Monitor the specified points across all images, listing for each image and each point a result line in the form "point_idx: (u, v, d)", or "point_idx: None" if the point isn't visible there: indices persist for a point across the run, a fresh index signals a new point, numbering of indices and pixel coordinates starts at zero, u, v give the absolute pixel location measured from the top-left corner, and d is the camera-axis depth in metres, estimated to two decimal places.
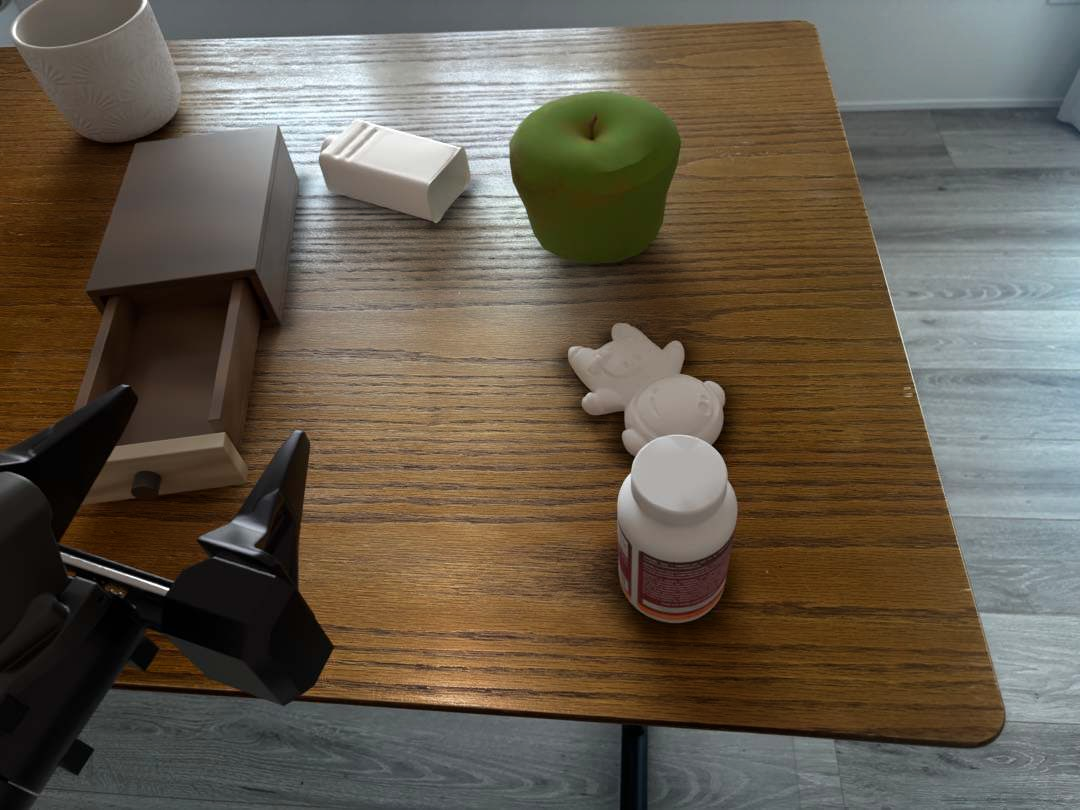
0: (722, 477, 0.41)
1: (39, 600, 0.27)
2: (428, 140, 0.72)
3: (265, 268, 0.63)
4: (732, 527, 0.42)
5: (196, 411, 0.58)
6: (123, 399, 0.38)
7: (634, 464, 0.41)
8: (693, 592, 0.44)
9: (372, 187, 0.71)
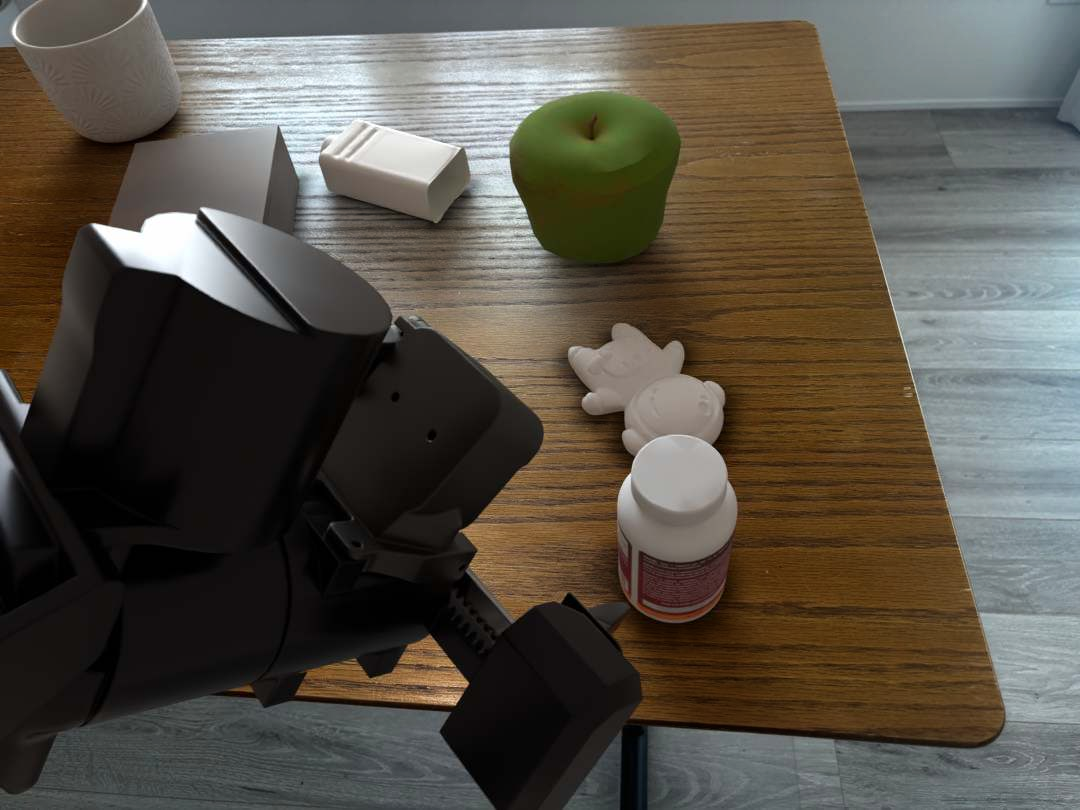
0: (723, 477, 0.41)
1: (457, 514, 0.26)
2: (428, 140, 0.72)
3: None
4: (732, 527, 0.42)
5: None
6: None
7: (634, 464, 0.41)
8: (693, 592, 0.44)
9: (372, 187, 0.71)
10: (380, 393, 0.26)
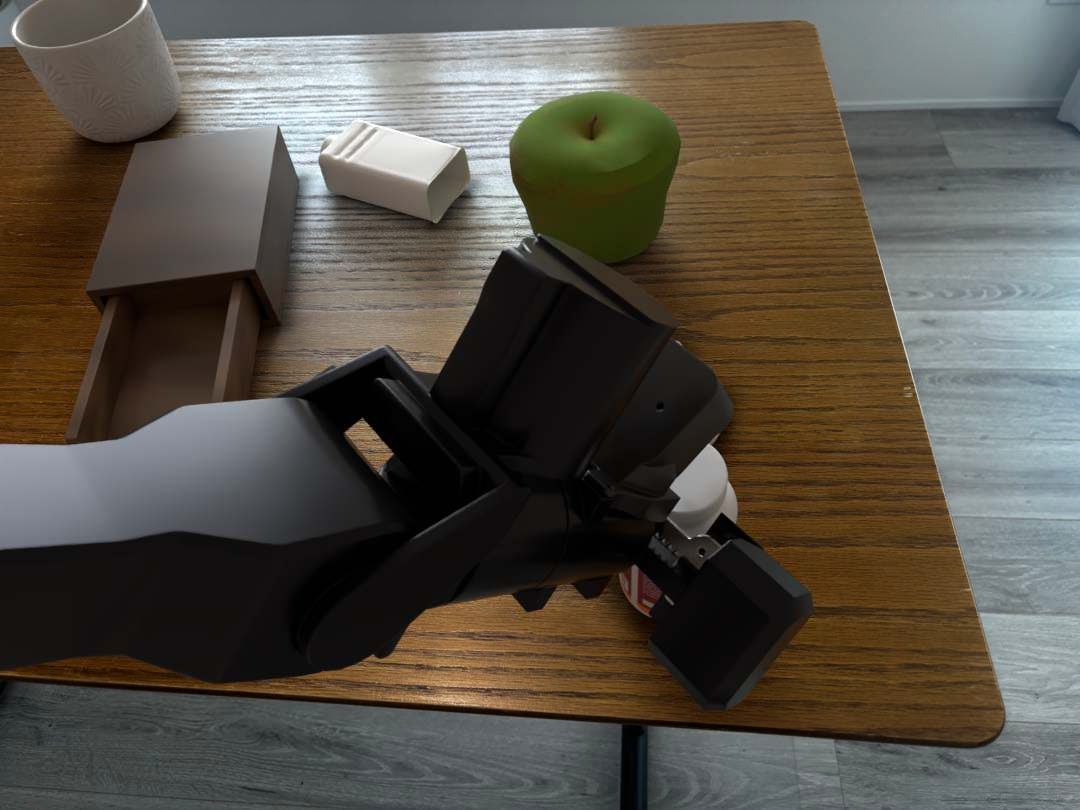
0: (723, 477, 0.41)
1: (674, 467, 0.33)
2: (428, 140, 0.72)
3: (265, 268, 0.63)
4: None
5: None
6: None
7: None
8: None
9: (372, 188, 0.71)
10: None
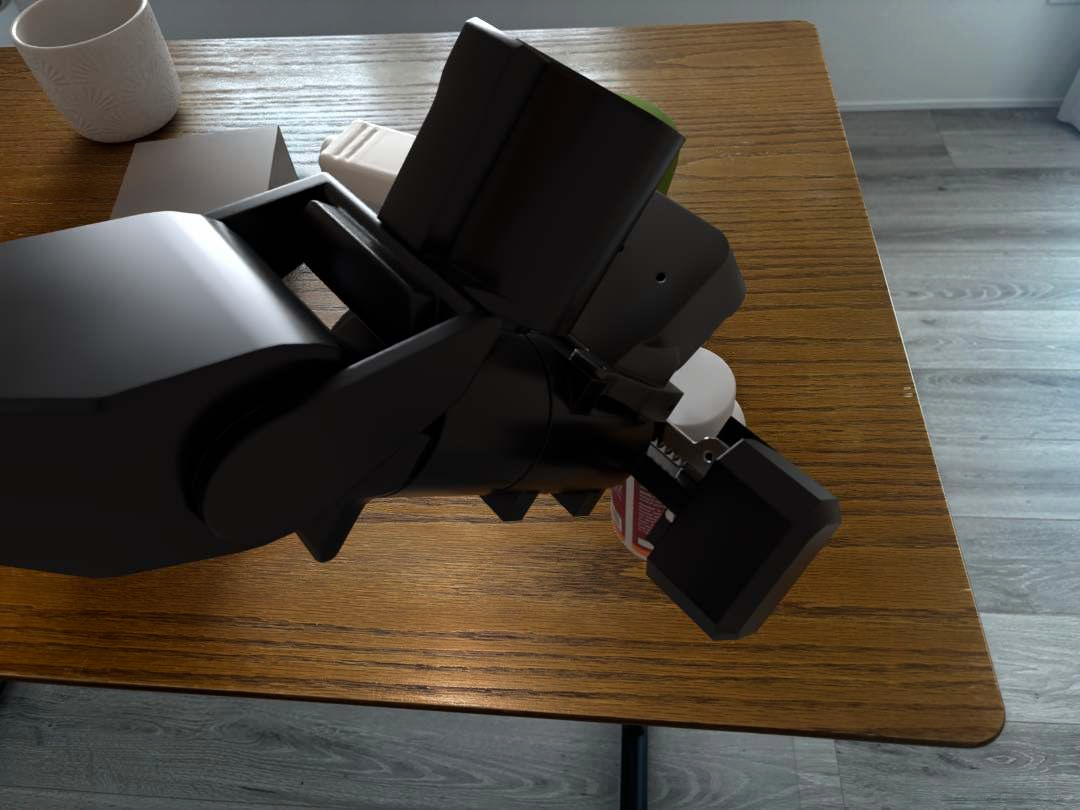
0: (730, 388, 0.35)
1: (676, 352, 0.28)
2: None
3: None
4: None
5: None
6: None
7: None
8: None
9: (372, 188, 0.71)
10: None
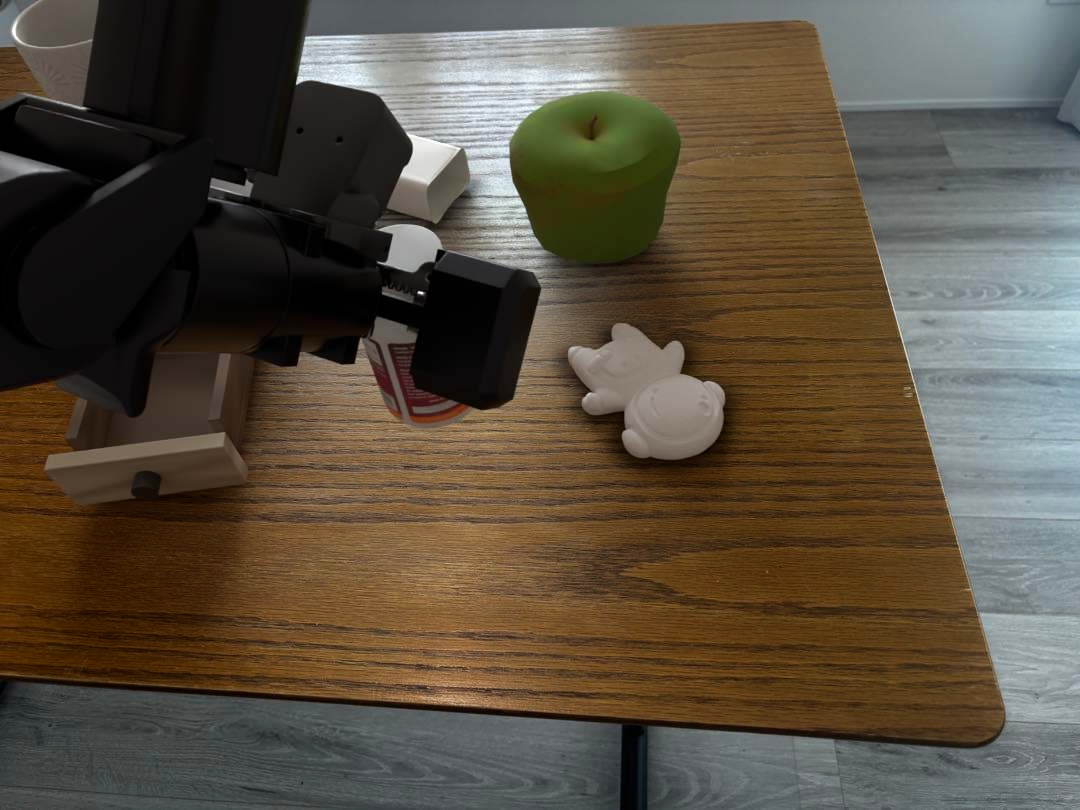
0: (436, 244, 0.43)
1: (373, 197, 0.35)
2: (428, 140, 0.72)
3: None
4: None
5: (196, 411, 0.58)
6: None
7: None
8: None
9: None
10: (286, 133, 0.35)
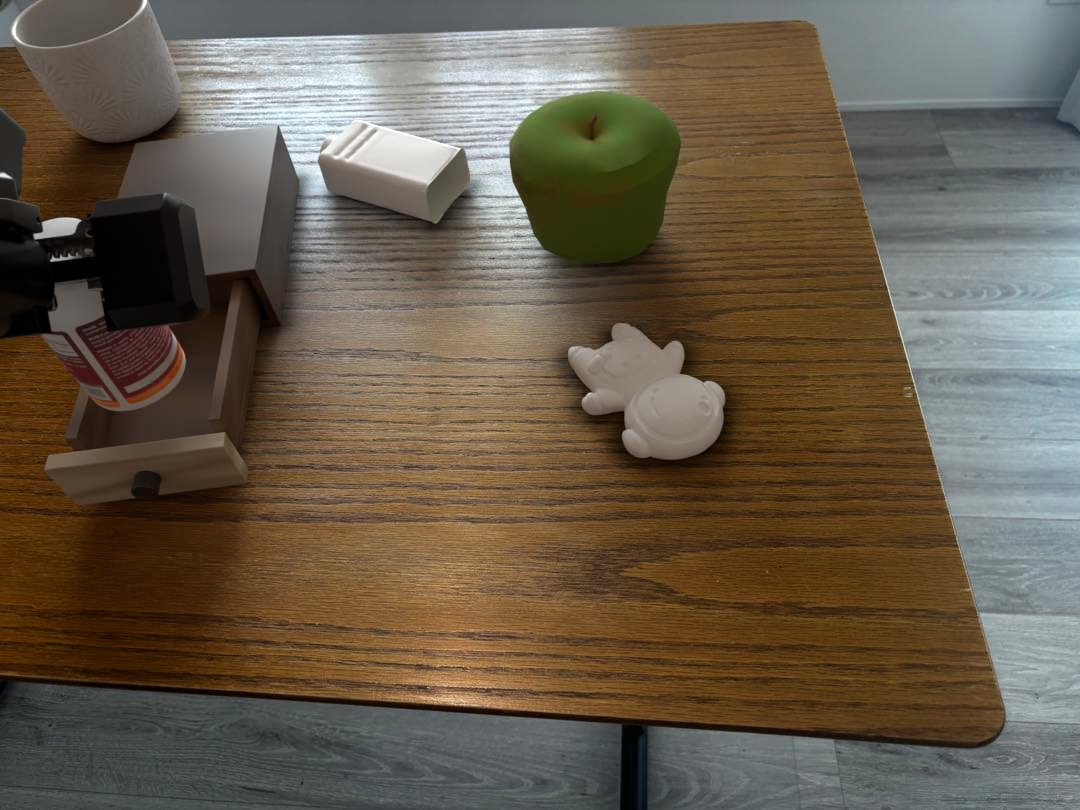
0: None
1: (6, 174, 0.38)
2: (428, 141, 0.72)
3: (265, 268, 0.63)
4: None
5: (196, 411, 0.58)
6: None
7: None
8: (151, 343, 0.50)
9: (371, 188, 0.71)
10: None
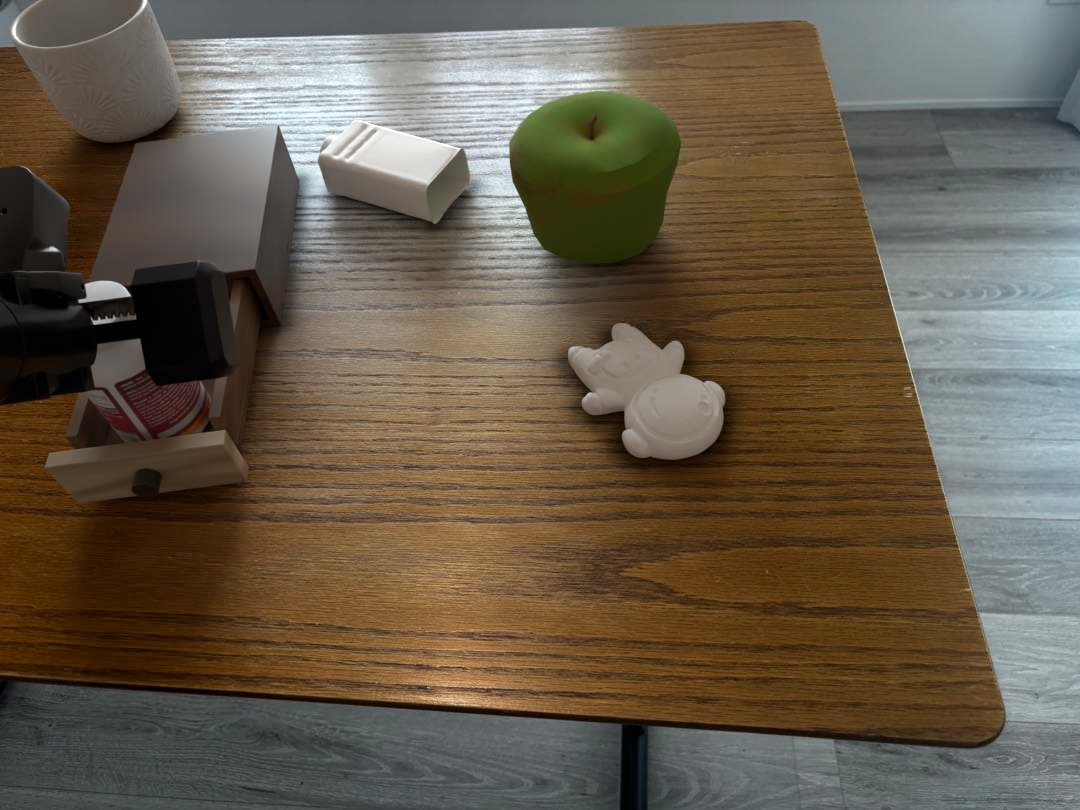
0: (120, 288, 0.50)
1: (54, 247, 0.42)
2: (427, 141, 0.72)
3: (265, 268, 0.63)
4: None
5: None
6: None
7: None
8: (182, 393, 0.54)
9: (371, 188, 0.71)
10: None
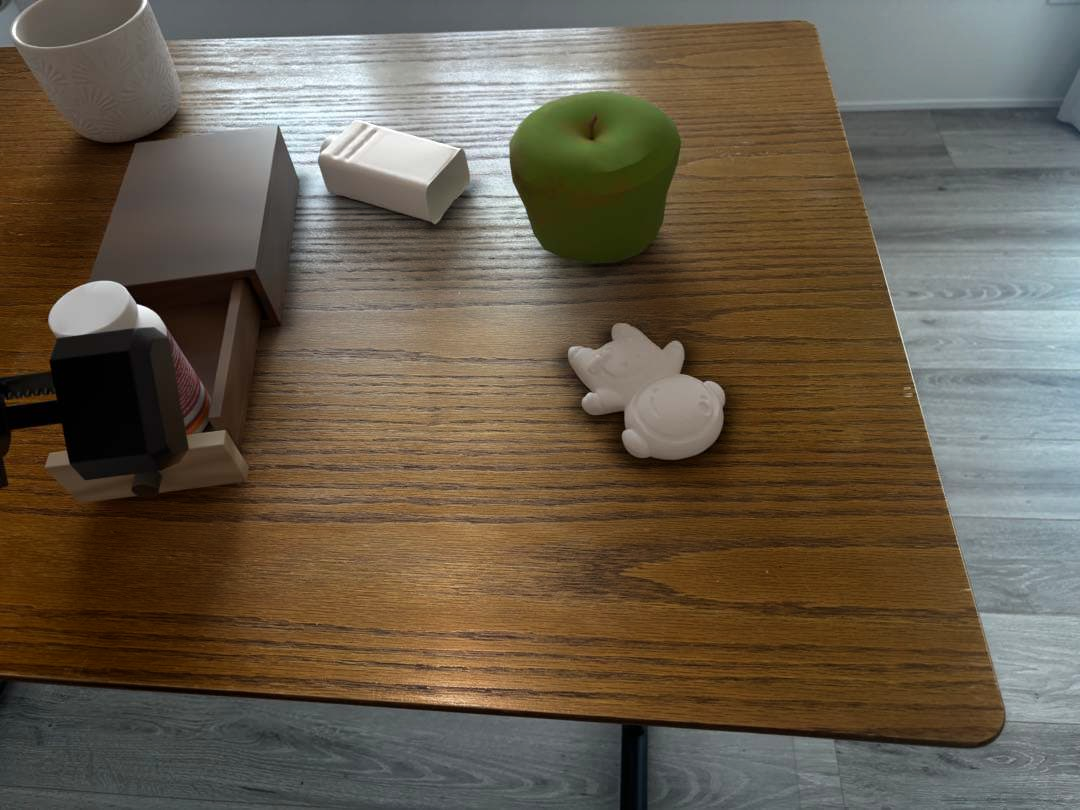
0: (120, 288, 0.50)
1: None
2: (427, 141, 0.72)
3: (265, 268, 0.63)
4: (161, 322, 0.52)
5: None
6: None
7: (52, 327, 0.48)
8: (182, 393, 0.54)
9: (371, 188, 0.71)
10: None
